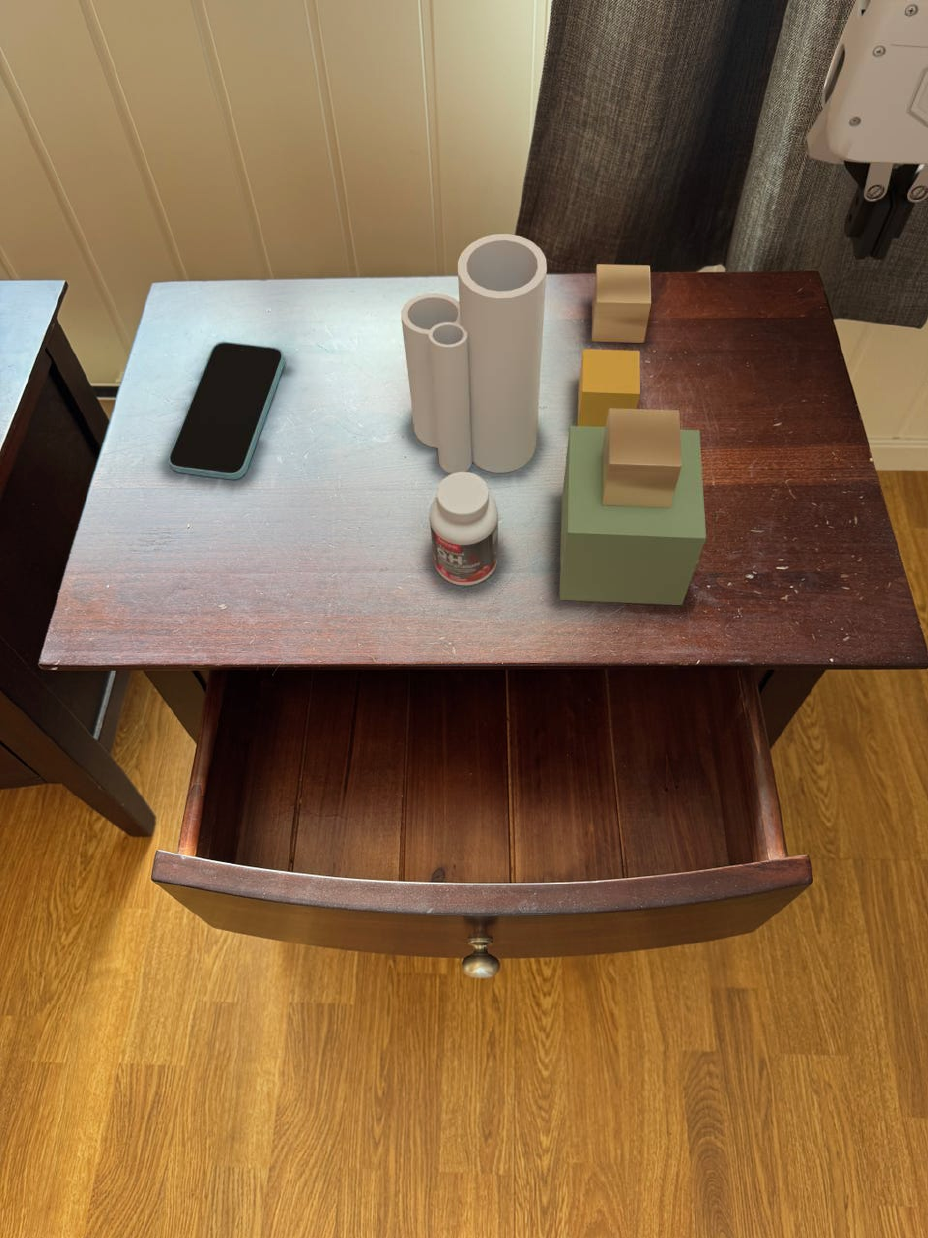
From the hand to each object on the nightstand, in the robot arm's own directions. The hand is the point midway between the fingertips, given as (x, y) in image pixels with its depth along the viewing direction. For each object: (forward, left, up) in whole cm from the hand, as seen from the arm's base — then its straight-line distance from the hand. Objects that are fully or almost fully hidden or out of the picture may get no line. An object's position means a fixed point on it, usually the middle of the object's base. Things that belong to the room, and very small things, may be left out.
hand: (865, 243), depth 57 cm
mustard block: (+6, -15, -27) cm, 32 cm away
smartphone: (+38, -30, -27) cm, 56 cm away
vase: (+19, -17, -27) cm, 37 cm away
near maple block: (+13, -1, -17) cm, 21 cm away
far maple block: (0, -24, -27) cm, 36 cm away
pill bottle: (+25, -6, -27) cm, 37 cm away
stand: (+13, -1, -27) cm, 30 cm away
